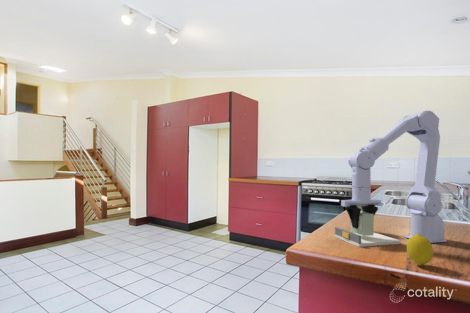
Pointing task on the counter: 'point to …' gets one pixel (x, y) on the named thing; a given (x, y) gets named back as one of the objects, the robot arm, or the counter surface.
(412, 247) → the lemon
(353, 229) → the carton
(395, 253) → the counter surface
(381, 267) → the counter surface
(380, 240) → the shelf board
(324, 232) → the counter surface
